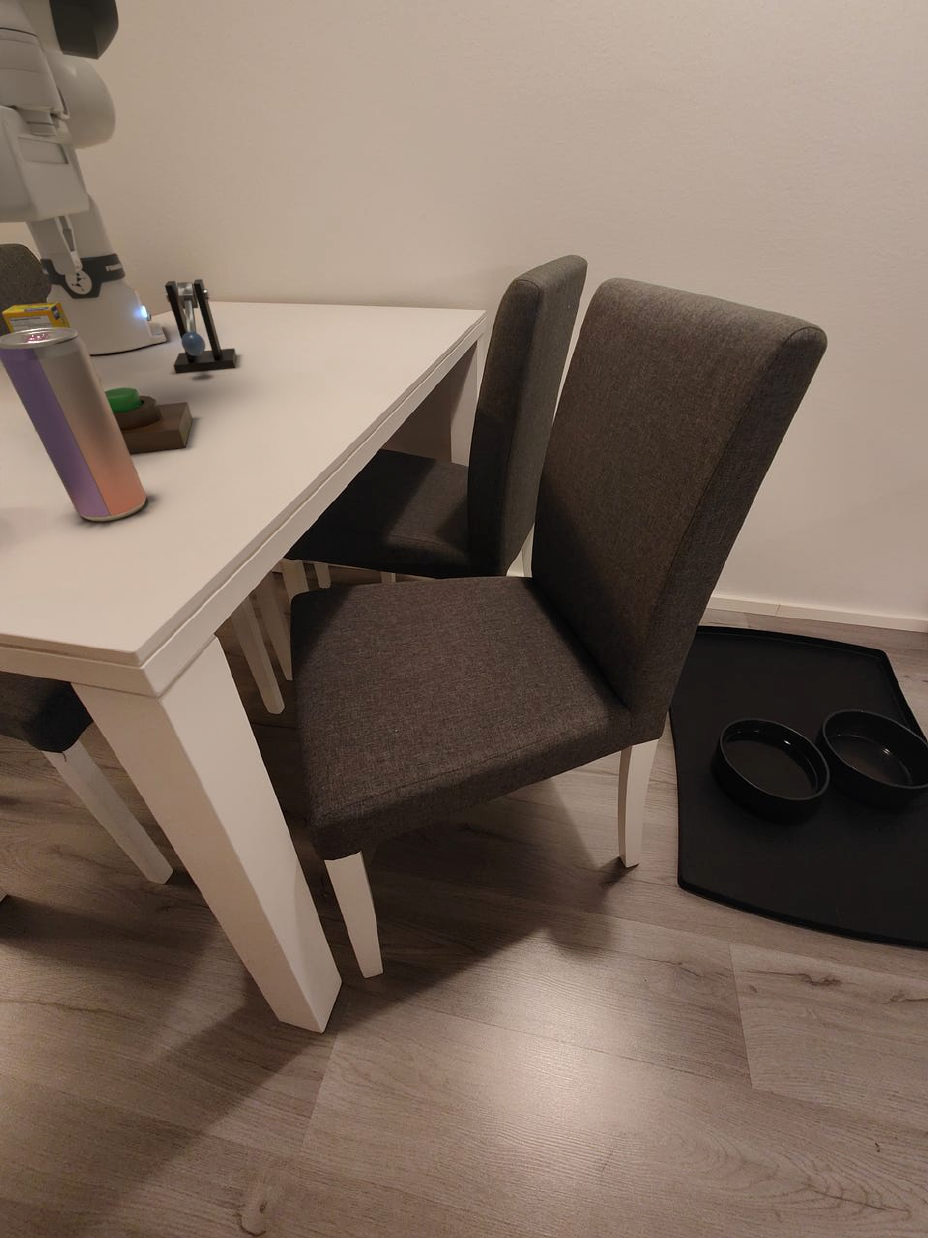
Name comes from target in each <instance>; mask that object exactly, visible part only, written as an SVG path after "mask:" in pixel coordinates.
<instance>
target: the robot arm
mask: <svg viewBox="0 0 928 1238" xmlns="http://www.w3.org/2000/svg"><path fill="white" fill-rule="evenodd" d="M119 21H120V20H119V12H118V7H117V1H116V0H0V224H3V223H5V224H6V223H8V224H9V223H25V224H26V226H27V228H28V230H29V232H30V234H31V238H32V239H33V241H34V243H35V246H36V248H37V250H38V253H39V256H40V259H39V263H40V265H41V269H42V272H43V274H44V276H45V277H46V280H47V283H49V284H50V285H51V290H50V292H49V294H48V295H47V297H46V303H52V302H60V304H61V306H62V309H63V311H64V313H65V316H66V318H67V320H68V323H69V325H70V327H71V328H72V329H75V330H76V331H77V332H78V336H79V338H80V339H81V340H82V341H83V343H84V344H85V345H86V348H87V350H88V353H89V355H105V354H112V353H113V354H115V353H121V352H126V351H132V350H136V349H140V348H143V347H148V346H151V345H154V344H155V345H156V344H160V343H165V342H167V341H168V340H167V337H166V335H165V333H164V331H163V328H162V326H161V323H160V322H152V320H153V319H152V316H151V314H150V313H149V312H147V311H146V308H145V306H144V305H143V304H142V301H141V298H140V295H139V292H138V291H136V290H135V288H134V287H132V285H131V284H130V283H129V281H128V280H127V279H126V272H125V270H124V267H123V264H122V261H121V259H120V258H119V255H118V254H117V253H116V252H115V251H114V248H113V245H112V242H111V239H110V237H109V234H108V230H107V228H106V225H105V222H104V220H103V216H102V213H101V210H100V207H99V205H98V204H97V202H96V201H95V199H94V198H93V197H92V196H91V195H90V194H89V193H88V191H87V187H86V184H85V180H84V176H83V173H82V169H81V166H80V162H79V159H78V156H77V152H76V150H87V149H90V148H93V147H97V146H100V145H103V144H106V143H110V142H111V141H112V139H113V138H114V135H115V131H116V127H117V126H116V125H117V113H116V108H115V104H114V100H113V97H112V95H111V93H110V90H109V89H108V86H107V84H106V83H105V81H104V79H103V78H102V77H101V75H100V74H99V73H98V71H97V70H96V69H95V68H94V67H93V66H92V64H90V63H89V62H88V61H86V59H91V60H99V59H100V58H101V57H102V55H104V54H105V53H106V51H107V50H108V49H109V47H110V46H111V44H112V43H113V41H114V40H115V37H116V35H117V33H118V30H119V27H120V26H119V25H120V23H119Z"/></svg>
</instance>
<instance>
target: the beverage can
mask: <svg viewBox="0 0 928 1238" xmlns="http://www.w3.org/2000/svg"><path fill="white" fill-rule="evenodd" d="M0 362H1V364H2V366H3V368H4V370H5V371H6V373H7V376H8V378H9V379H10V382H11V384H12V386H13V388H14V389H15V392H16V394H17V395H18V397H19V400H20V401H21V404H22V406H23V408H24V409H25V412H26V414H27V416H28V418H29V419H30V421H31V423H32V425H33V428H34V429H35V432H36V434H37V435H38V438H39V439H40V441H41V444H42V445H43V447H44V449H45V452H46V453H47V455H48V457H49V459H50V461H51V463H52V465H53V468H54V469H55V471H56V474H57V475H58V477H59V479H60V481H61V483H62V485H63V487H64V489H65V491H66V493H67V496H68V497H69V499H70V501H71V503H72V505H73V507H74V510H75V511H76V513H77V514H79V515H80V516H81V517H83V518H84V519H86V520H88V521H91V522H92V521H93V522H109V521H110V522H111V521H116V520H119V519H124V518H127V517H128V516H131V515H133V514H135V513H136V512H138V511H139V510H141V509H142V508H143V507H144V505H145V503H146V498H147V494H146V490H145V488H144V485H143V483H142V481H141V480H142V479H141V478H140V476H139V473H138V471H137V468H136V466H135V463H134V461H133V459H132V455H131V454H130V453H129V451H128V448H127V446H126V443H125V441H124V439H123V436H122V434H121V431H120V429H119V426H118V424H117V421H116V419H115V416H114V414H113V412H112V409H111V407H110V404H109V402H108V399H107V397H106V394H105V390H104V386H103V385H102V382H101V380H100V376H98V375H99V374H98V372H97V370H96V367H95V365H94V363H93V360H92V358H91V354H89V353H88V350H87V348H86V345H85V344H84V343H83V341H82V340H81V339H80V338H79V336H78V332H77V331H76V330H75V329H72V328H64V327H55V328H40V329H32V330H25V331H20V332H15V333H11V332H10V333H7V334H4V335H1V336H0Z"/></svg>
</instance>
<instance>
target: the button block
mask: <svg viewBox="0 0 928 1238" xmlns="http://www.w3.org/2000/svg"><path fill="white" fill-rule="evenodd" d="M139 396H140V399H141V402H142V404H143V405H141V406H139V407H137V408H134V409H130V410H126V411H117V412H113V414H114V416H115V419H116V421H117V424H118V426H119V429H120V431H121V434H122V436H123V439H124V441H125V443H126V446H127V448H128V451H129V453H130V455H133V454H134V455H135V454H140V453H141V454H142V453H150V452H159V451H166V450H167V451H168V450H174V449H175V450H176V449H185V448H186V445H187V441H188V437H189V433H190V430H191V426H192V422H193V415H192V413H191V410H190V407H189V403H188V402H187V401H184V402H175V403H165V404H164V403H163V404H158V401H157V399H156V398H154V397H152V396H149V395H139Z"/></svg>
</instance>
